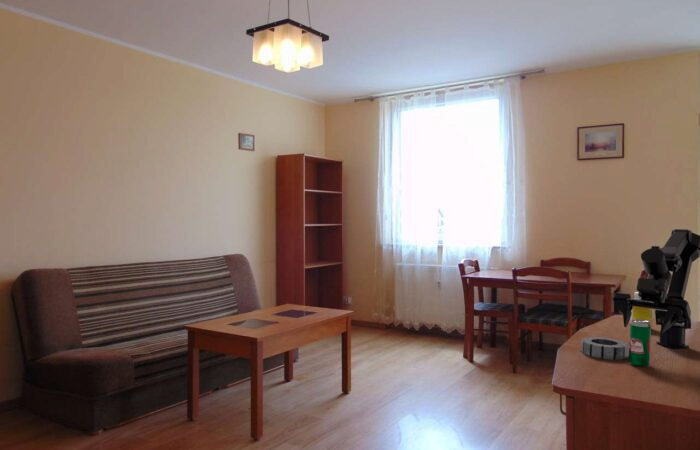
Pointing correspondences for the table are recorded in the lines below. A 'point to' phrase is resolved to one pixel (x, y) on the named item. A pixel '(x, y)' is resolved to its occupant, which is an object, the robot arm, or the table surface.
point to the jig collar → (604, 348)
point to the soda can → (639, 343)
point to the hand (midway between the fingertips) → (642, 329)
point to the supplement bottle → (641, 312)
